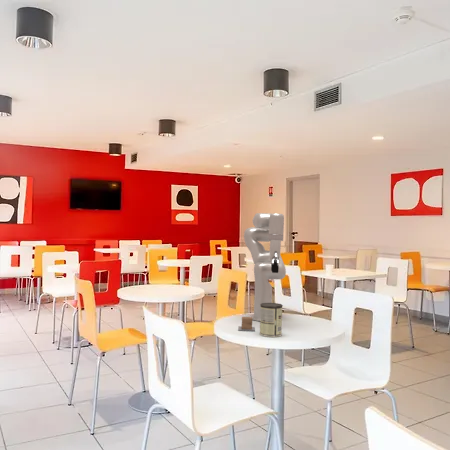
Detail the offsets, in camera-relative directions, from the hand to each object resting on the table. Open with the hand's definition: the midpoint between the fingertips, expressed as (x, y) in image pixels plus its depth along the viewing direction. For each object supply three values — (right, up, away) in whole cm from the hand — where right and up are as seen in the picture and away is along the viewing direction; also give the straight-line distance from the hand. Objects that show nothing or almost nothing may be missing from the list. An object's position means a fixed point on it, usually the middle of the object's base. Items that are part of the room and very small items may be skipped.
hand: (274, 271), depth 226 cm
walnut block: (-14, -27, -8) cm, 31 cm away
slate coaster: (-15, -27, -8) cm, 32 cm away
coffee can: (-4, -28, -18) cm, 33 cm away
